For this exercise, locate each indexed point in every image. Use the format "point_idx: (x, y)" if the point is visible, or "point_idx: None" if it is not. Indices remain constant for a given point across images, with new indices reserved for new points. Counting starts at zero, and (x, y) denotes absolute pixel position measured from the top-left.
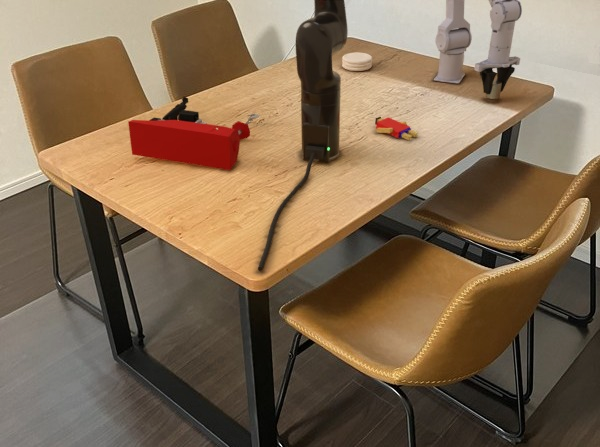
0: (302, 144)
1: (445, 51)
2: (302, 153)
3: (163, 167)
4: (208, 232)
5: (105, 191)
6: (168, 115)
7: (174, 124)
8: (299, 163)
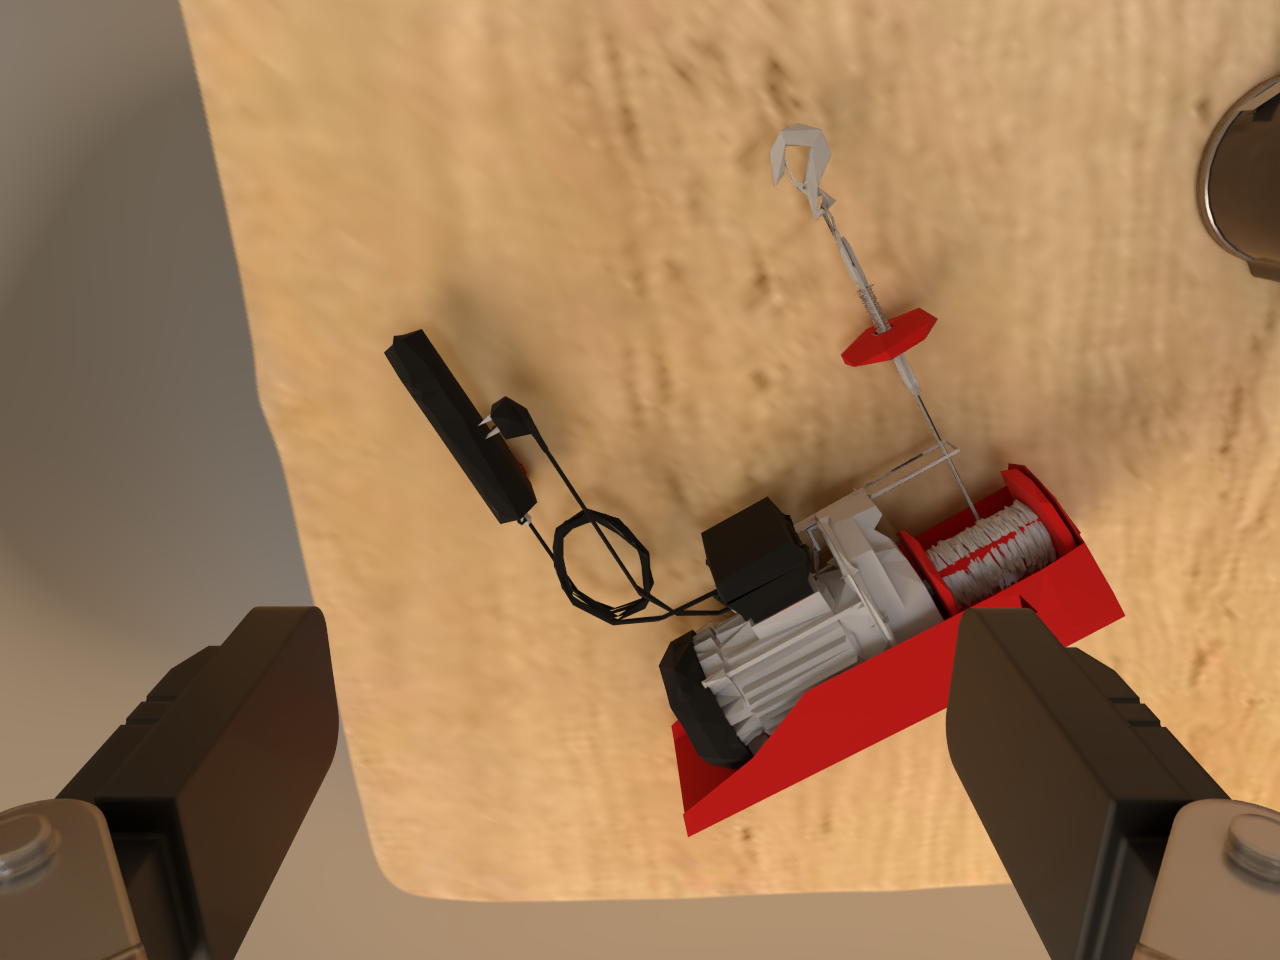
0: (1268, 257)
1: None
2: (1240, 255)
3: None
4: None
5: (803, 881)
6: (515, 504)
7: (850, 716)
8: (1249, 307)
